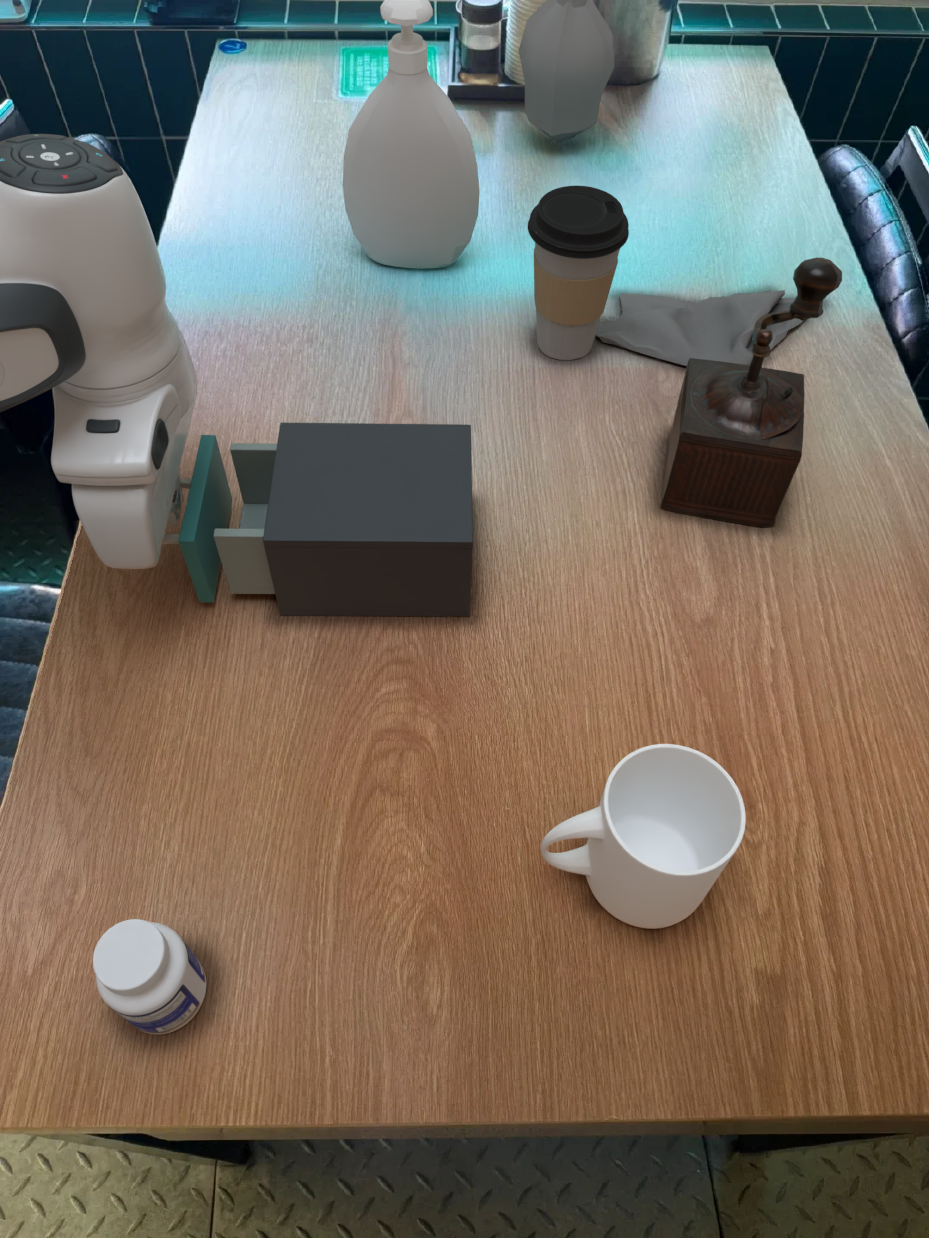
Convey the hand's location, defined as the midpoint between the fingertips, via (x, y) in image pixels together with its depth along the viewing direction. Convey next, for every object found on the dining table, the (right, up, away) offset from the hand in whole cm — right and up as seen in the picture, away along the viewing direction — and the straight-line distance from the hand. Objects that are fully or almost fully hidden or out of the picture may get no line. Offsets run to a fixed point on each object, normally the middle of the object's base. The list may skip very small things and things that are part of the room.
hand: (171, 513), depth 77 cm
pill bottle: (+5, -33, -16) cm, 37 cm away
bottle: (+36, +53, +45) cm, 78 cm away
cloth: (+50, +22, +24) cm, 60 cm away
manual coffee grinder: (+48, +6, +13) cm, 50 cm away
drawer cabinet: (+16, -3, +5) cm, 17 cm away
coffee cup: (+34, +20, +22) cm, 45 cm away
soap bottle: (+18, +33, +31) cm, 48 cm away
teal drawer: (+7, -3, +4) cm, 9 cm away
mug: (+35, -26, -11) cm, 45 cm away
